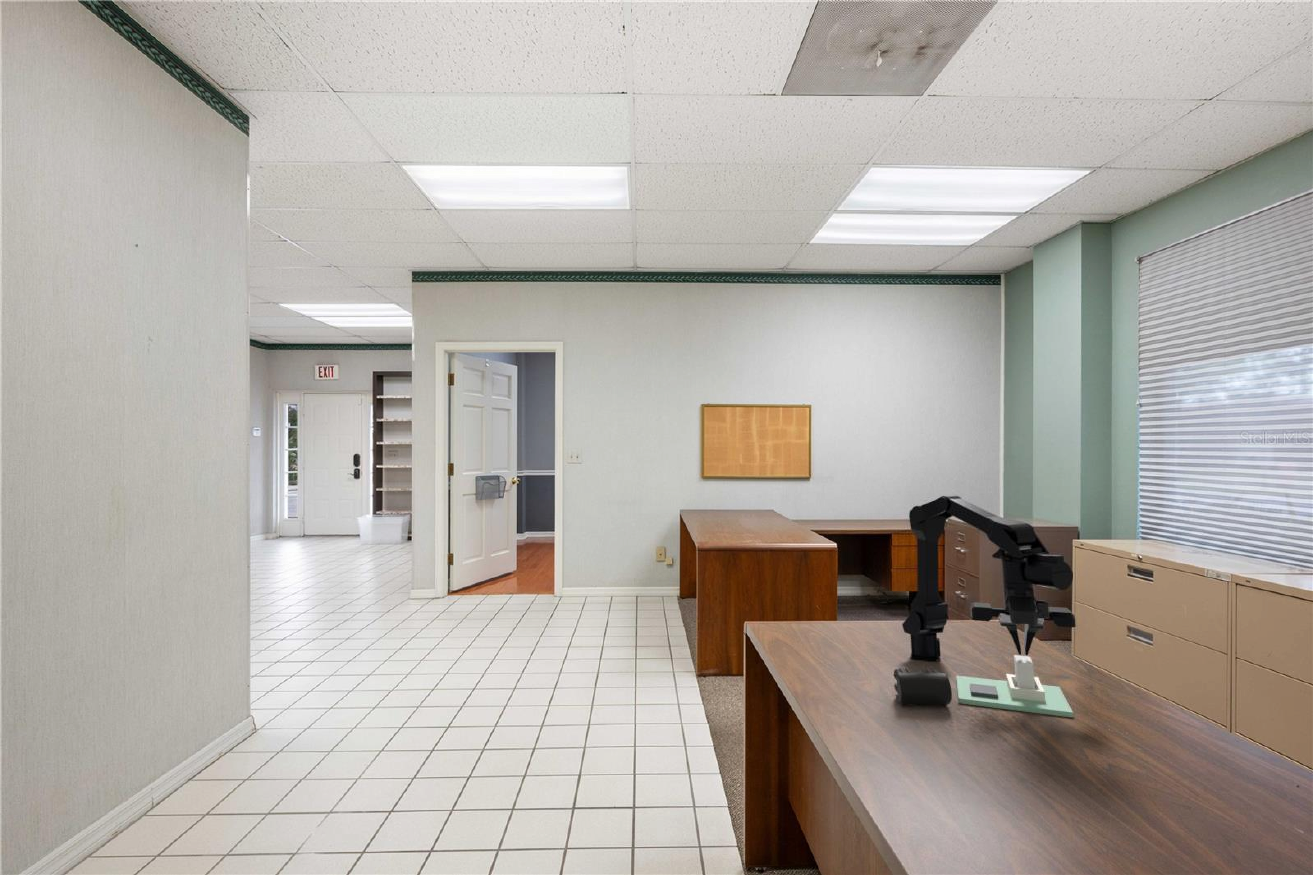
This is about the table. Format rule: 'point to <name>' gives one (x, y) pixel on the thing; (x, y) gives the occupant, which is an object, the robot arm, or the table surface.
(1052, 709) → the board
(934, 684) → the end cap
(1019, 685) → the plug
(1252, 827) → the table surface
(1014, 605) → the robot arm
